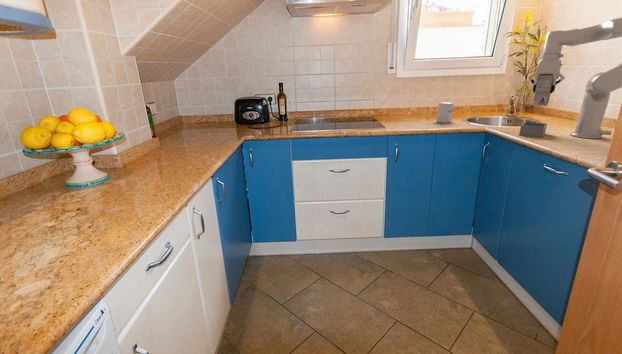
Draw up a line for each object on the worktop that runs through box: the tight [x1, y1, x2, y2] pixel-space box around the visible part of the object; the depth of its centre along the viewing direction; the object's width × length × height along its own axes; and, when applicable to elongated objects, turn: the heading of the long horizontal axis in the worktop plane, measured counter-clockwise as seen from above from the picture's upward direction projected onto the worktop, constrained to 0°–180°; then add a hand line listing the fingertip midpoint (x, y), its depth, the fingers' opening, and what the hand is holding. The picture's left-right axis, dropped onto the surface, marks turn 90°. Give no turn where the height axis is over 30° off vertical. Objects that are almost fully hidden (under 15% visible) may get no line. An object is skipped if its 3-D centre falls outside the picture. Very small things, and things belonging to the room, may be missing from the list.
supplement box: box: [435, 101, 455, 124], centre depth 209 cm, size 7×7×13 cm
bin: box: [518, 121, 548, 138], centre depth 168 cm, size 10×13×6 cm
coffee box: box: [532, 74, 554, 107], centre depth 166 cm, size 9×6×16 cm
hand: (542, 92), depth 166 cm, fingers closed on coffee box, 6 cm apart
